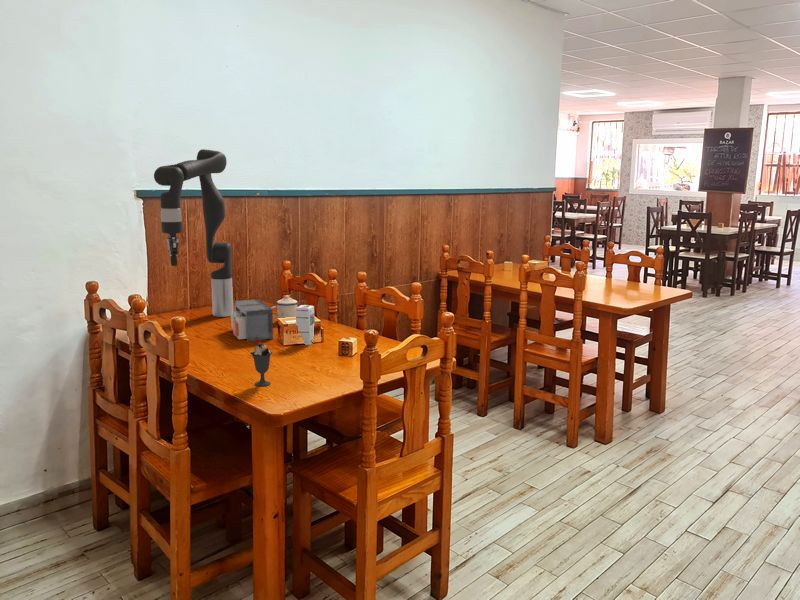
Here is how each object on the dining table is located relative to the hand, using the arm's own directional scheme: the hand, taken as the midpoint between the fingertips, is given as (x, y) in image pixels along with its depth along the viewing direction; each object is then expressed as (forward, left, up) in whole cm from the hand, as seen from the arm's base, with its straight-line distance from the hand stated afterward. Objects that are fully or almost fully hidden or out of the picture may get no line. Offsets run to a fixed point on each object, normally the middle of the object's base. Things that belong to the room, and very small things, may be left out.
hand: (174, 265), depth 249 cm
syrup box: (+26, +44, -29) cm, 59 cm away
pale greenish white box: (-2, +27, -29) cm, 40 cm away
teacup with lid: (-12, +46, -29) cm, 56 cm away
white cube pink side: (+9, +25, -29) cm, 40 cm away
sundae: (+68, +17, -29) cm, 76 cm away
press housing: (+4, +29, -29) cm, 41 cm away
